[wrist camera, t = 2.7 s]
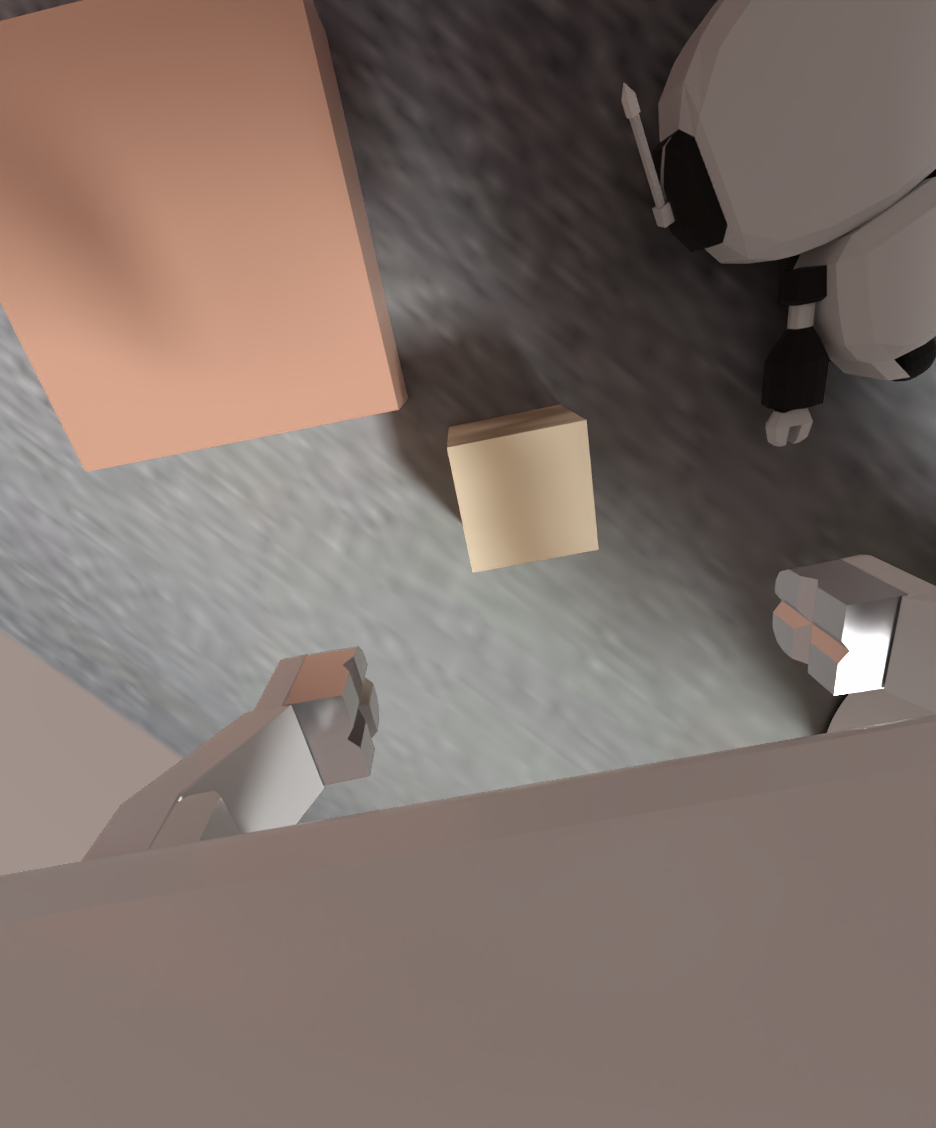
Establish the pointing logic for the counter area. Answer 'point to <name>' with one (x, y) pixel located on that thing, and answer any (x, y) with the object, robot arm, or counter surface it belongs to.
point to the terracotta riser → (186, 226)
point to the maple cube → (524, 487)
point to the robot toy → (810, 179)
